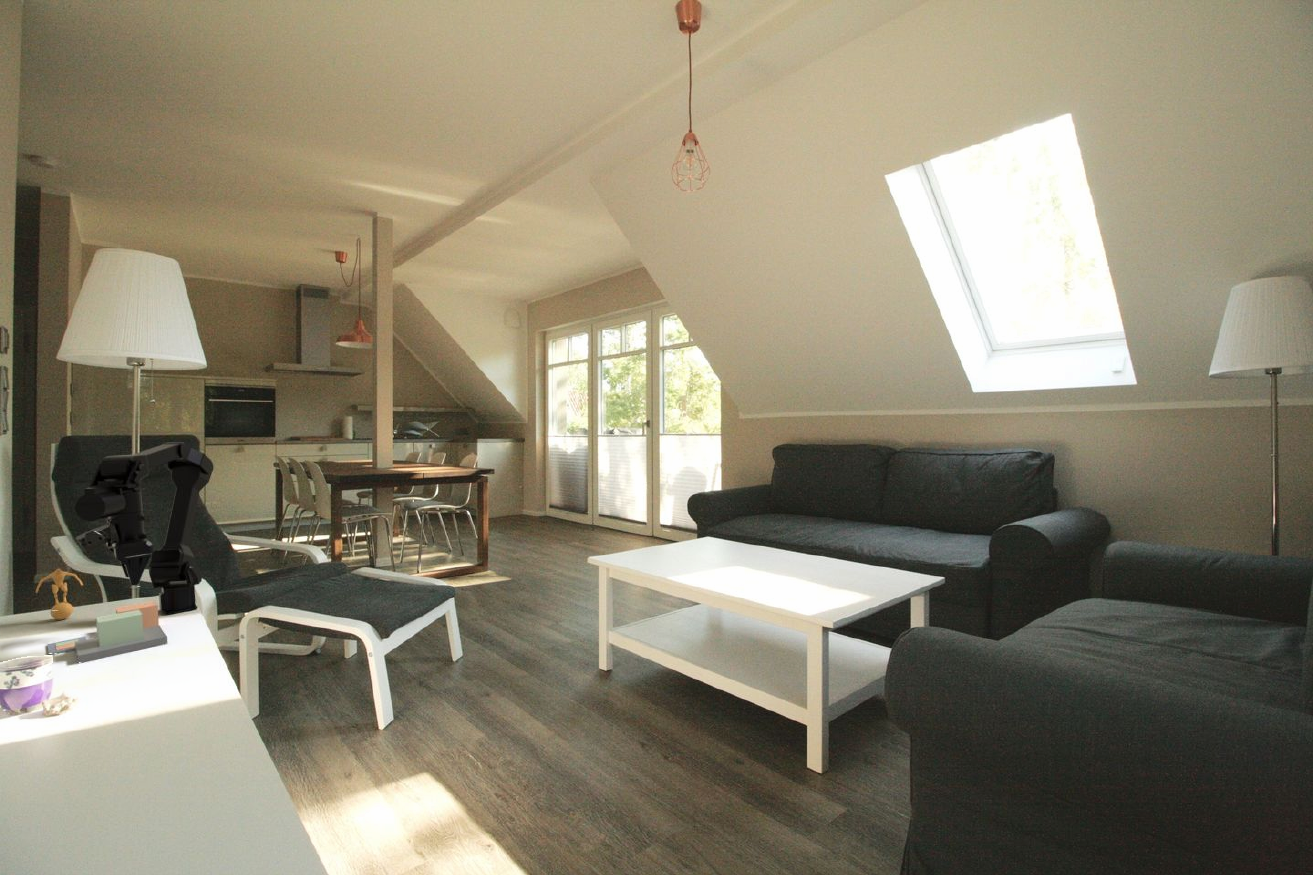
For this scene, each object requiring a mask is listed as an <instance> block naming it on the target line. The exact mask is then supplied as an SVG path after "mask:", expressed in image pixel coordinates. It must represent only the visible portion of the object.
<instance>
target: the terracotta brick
mask: <svg viewBox="0 0 1313 875" xmlns="http://www.w3.org/2000/svg"><path fill="white" fill-rule="evenodd" d="M134 610H140V612H141V613H142V620H143V628H146V627H151V626H156V625H159V626H160V624H159V622H160V621H159V606H158V604H157V602H156V601H155V600H151V601H146V602H142V603H141V602H139V603H135V604H130V605H124V606H117V607H115V614H118V613H123V612H128V611H134Z"/></svg>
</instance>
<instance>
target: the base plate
mask: <svg viewBox="0 0 1313 875" xmlns="http://www.w3.org/2000/svg"><path fill="white" fill-rule="evenodd" d="M143 637H144V638H140V639H135V640H131V641H126V642H121V643H116V644H112V645H107V646H102V647H100V646H99V644H98V641H97V637H92V638H88V639H87V638H86V640H82V641H77V642H75V650H74V651H75V655H76V659H77V662H78V664H80V663H79V662H82V663H87V662H91V661H95V660H99V659H100V660H101V659H104V658H108V657H109V658H110V657H113V656H118V655H122V653H123V654H127V653H132V652H136V651H140V650H145V649H149V647H150V648H155V647H159V646H163V644H164V645H167V644H168V636H167V635H166V633H165V631H164V630H163V629H162V627H161V625H160V624H159V625H156V626H151V627H146V628H143ZM166 643H167V644H166ZM158 645H159V646H158ZM154 646H155V647H154ZM126 652H127V653H126Z"/></svg>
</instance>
